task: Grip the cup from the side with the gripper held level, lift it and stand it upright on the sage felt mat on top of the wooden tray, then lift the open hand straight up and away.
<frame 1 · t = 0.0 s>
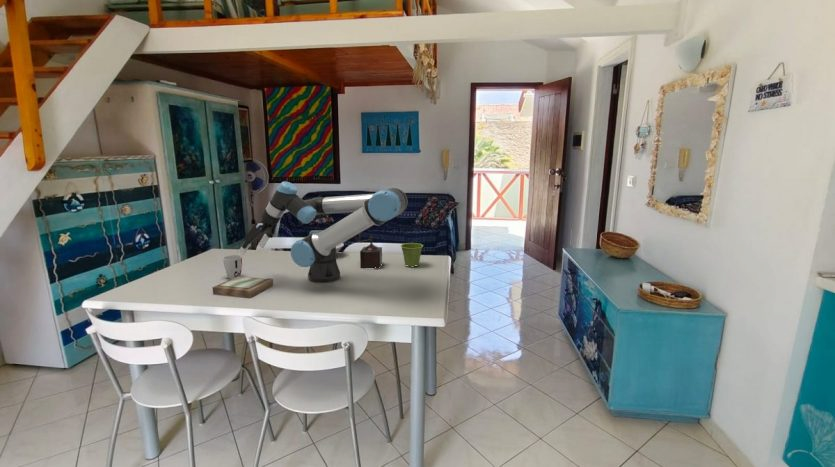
hand: (251, 249, 179), 15 cm above the table, tool tilted 35°, fingers open, 13 cm apart
manual coffee grinder: (367, 266, 209), on the table
plant pot: (411, 266, 210), on the table
soup bowl: (323, 256, 229), on the table
wooden tray: (244, 289, 171), on the table
cup: (234, 277, 189), on the table
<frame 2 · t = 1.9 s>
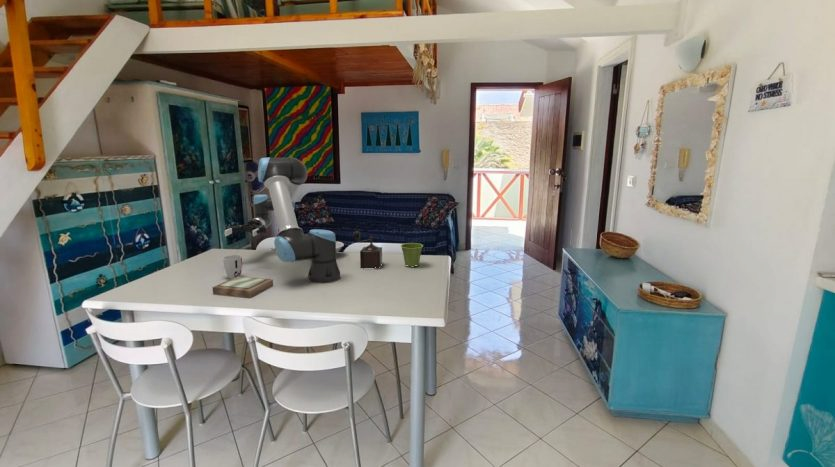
hand: (239, 233, 194), 19 cm above the table, tool horizontal, fingers open, 13 cm apart
nothing on the table moved.
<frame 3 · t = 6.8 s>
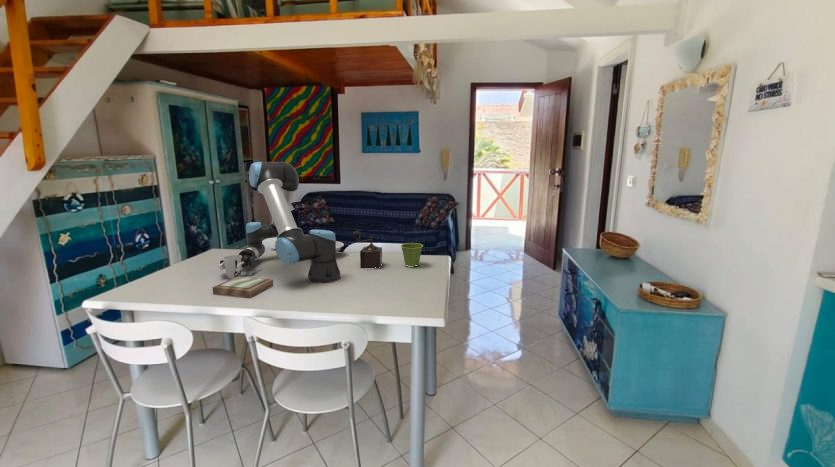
hand: (228, 268, 183), 6 cm above the table, tool horizontal, fingers closed on cup, 8 cm apart
cup: (234, 277, 189), on the table, touching gripper
everything else where it was.
when the fingers open (10 cm above the table, at t = 12.3 s): cup drops 1 cm, resting on wooden tray.
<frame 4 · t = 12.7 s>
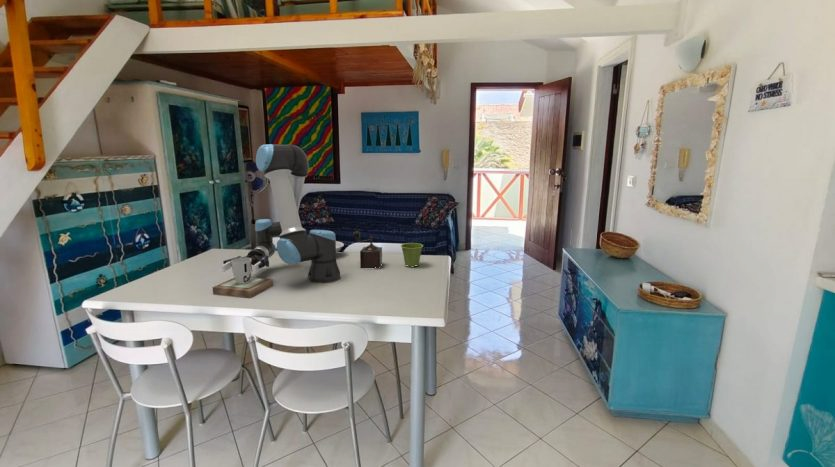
hand: (238, 268, 166), 10 cm above the table, tool horizontal, fingers open, 12 cm apart
cup: (243, 282, 171), point 3 cm above the table, touching wooden tray
everything else where it was.
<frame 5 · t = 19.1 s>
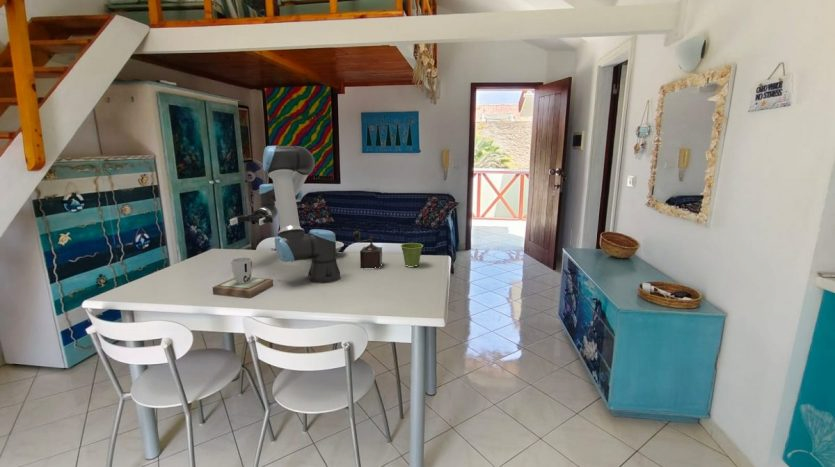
hand: (245, 222, 187), 26 cm above the table, tool horizontal, fingers open, 13 cm apart
nothing on the table moved.
at the end: cup inside the target area on the wooden tray (0.2 cm from its centre), point 3.2 cm above the wooden tray's base; cup tilted 0°; the gripper is holding nothing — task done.
